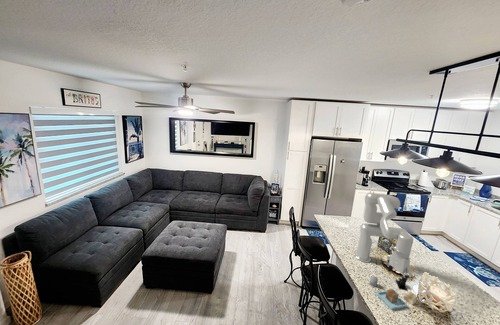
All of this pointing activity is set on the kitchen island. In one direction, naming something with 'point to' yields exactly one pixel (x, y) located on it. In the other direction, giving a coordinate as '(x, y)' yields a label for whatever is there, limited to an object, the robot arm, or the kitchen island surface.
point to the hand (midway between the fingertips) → (396, 276)
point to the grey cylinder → (373, 281)
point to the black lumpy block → (401, 285)
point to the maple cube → (410, 297)
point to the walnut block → (392, 296)
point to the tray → (392, 306)
